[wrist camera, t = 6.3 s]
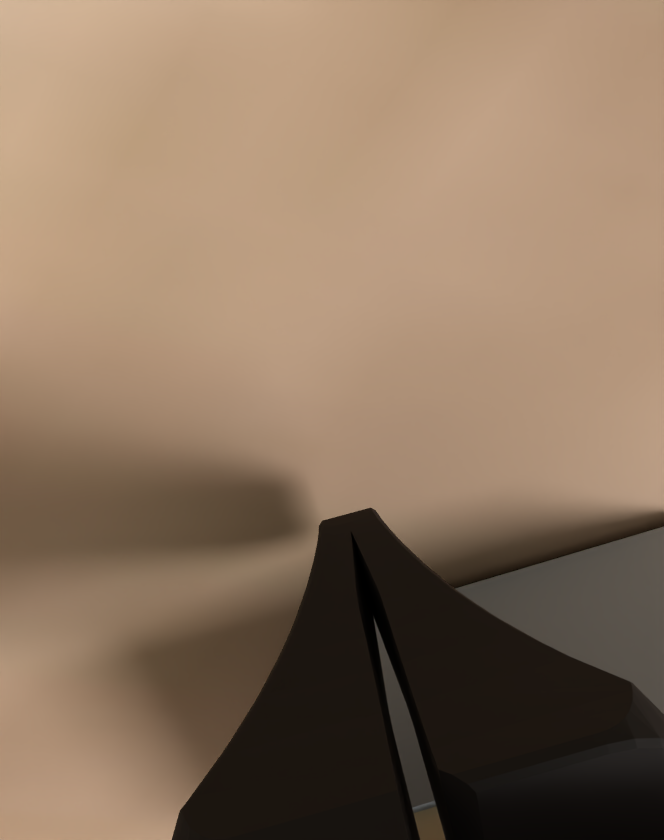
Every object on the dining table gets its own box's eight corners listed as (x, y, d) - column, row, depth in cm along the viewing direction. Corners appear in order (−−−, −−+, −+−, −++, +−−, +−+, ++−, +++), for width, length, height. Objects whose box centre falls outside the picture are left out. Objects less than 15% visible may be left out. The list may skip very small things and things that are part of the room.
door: (707, 511, 14) (964, 676, 9) (704, 541, 14) (947, 716, 9) (306, 630, 14) (327, 870, 9) (316, 657, 14) (343, 900, 9)
